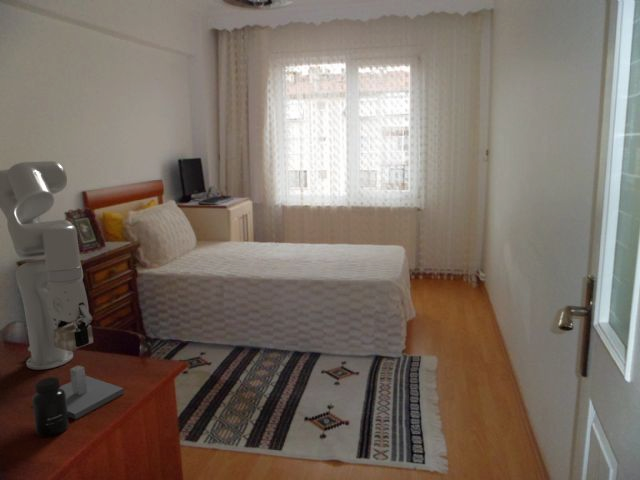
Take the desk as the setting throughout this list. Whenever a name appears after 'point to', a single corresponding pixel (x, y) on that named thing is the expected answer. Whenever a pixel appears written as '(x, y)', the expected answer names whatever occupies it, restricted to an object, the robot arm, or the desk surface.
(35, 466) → the desk surface
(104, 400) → the hub plate
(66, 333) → the beige block with hole
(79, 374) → the steel post
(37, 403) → the supplement bottle
